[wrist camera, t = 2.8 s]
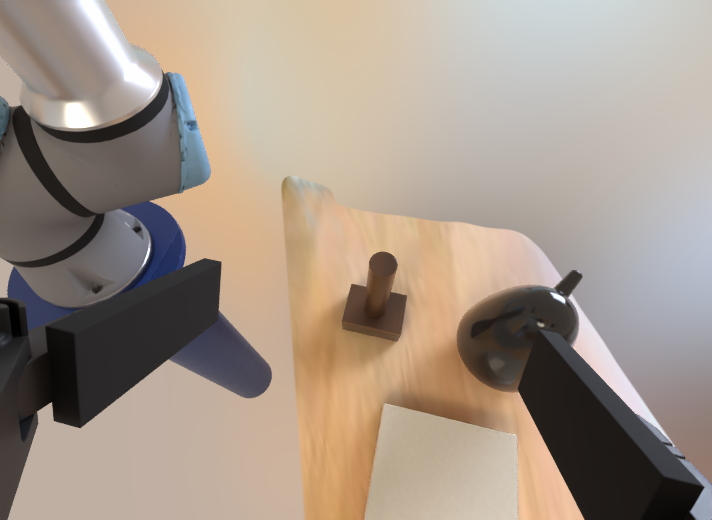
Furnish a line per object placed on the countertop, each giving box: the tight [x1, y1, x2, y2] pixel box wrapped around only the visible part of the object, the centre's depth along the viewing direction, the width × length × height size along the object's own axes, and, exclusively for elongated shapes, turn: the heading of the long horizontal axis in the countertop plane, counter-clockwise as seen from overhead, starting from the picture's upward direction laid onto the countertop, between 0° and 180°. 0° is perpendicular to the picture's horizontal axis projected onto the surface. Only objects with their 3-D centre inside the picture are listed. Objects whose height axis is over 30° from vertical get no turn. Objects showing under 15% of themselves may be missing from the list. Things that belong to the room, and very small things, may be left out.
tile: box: [363, 403, 518, 520], centre depth 33 cm, size 14×12×2 cm
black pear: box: [457, 270, 583, 393], centre depth 34 cm, size 10×10×15 cm
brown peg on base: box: [342, 252, 407, 341], centre depth 37 cm, size 7×5×14 cm
